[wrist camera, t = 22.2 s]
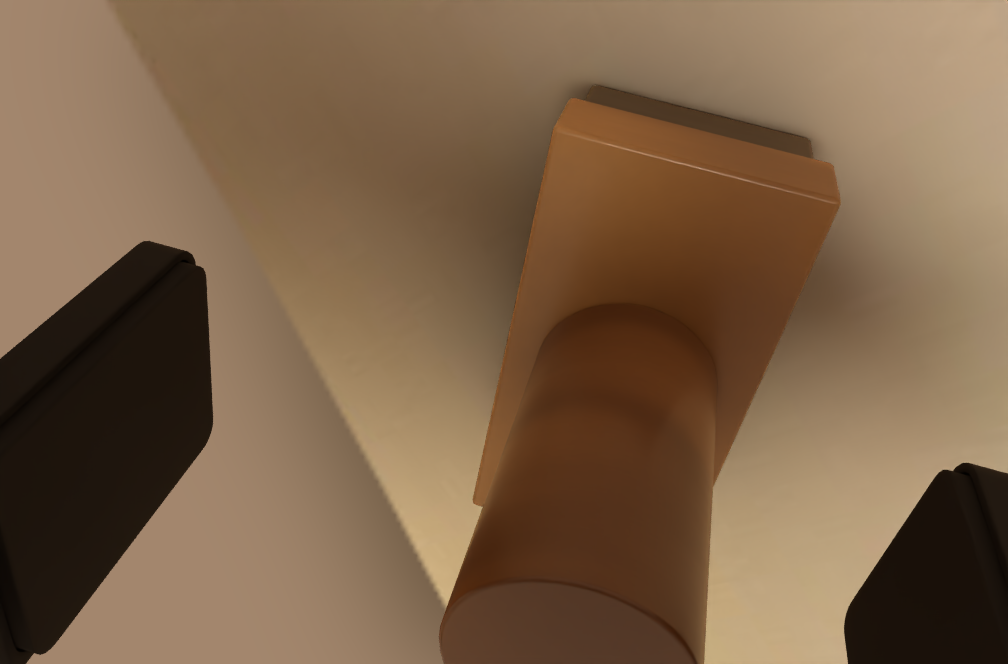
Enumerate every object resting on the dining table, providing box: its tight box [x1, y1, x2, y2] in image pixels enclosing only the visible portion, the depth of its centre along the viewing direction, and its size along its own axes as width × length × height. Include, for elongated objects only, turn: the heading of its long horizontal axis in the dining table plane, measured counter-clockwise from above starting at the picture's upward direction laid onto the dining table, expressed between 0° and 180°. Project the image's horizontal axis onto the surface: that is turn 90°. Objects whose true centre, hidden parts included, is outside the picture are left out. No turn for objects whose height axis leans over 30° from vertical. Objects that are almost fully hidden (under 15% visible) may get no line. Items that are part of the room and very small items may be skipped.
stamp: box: [439, 85, 841, 664], centre depth 14 cm, size 4×8×9 cm, turn 170°
